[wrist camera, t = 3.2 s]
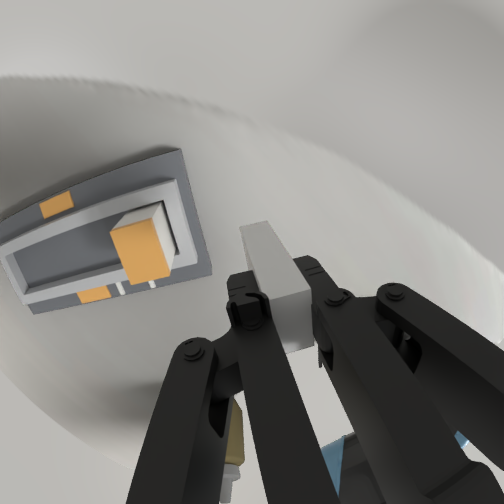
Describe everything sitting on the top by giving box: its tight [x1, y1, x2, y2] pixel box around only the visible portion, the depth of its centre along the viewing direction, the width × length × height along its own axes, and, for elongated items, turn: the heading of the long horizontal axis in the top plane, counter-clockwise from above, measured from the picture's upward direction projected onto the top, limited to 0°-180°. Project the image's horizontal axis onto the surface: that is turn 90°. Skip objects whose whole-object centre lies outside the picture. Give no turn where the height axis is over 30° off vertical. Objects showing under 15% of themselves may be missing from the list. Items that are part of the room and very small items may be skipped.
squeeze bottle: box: [220, 399, 245, 503], centre depth 29 cm, size 8×8×18 cm
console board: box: [0, 149, 212, 315], centre depth 23 cm, size 24×12×4 cm, turn 101°
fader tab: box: [110, 201, 176, 285], centre depth 20 cm, size 3×4×5 cm
